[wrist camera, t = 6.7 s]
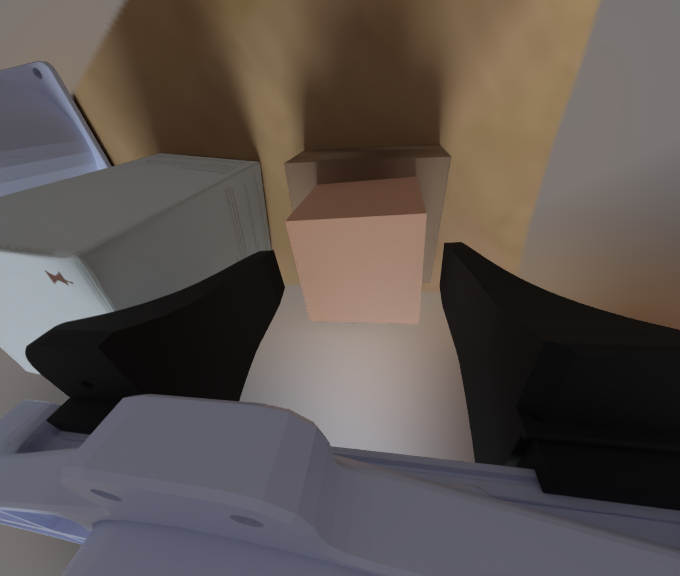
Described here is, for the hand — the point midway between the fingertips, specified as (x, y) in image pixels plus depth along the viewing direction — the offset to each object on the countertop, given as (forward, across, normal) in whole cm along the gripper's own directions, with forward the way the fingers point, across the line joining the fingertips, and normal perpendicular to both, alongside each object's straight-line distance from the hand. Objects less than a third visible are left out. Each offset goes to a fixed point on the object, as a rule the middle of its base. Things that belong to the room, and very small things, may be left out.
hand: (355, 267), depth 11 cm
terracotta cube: (+4, 0, 0) cm, 4 cm away
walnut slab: (+8, 0, 0) cm, 8 cm away
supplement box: (+8, +11, 0) cm, 14 cm away
